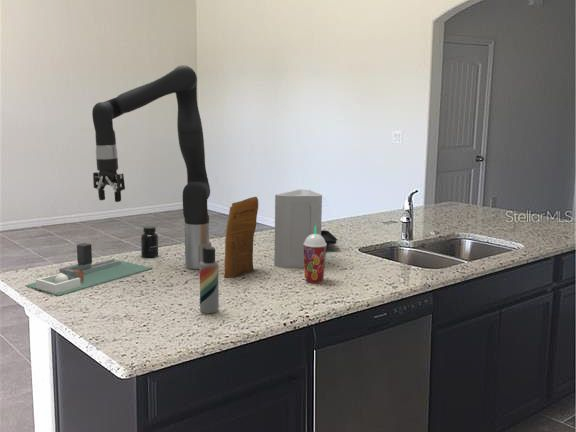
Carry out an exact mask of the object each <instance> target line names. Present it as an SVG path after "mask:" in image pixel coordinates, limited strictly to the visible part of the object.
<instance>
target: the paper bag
mask: <svg viewBox="0 0 576 432" xmlns="http://www.w3.org/2000/svg"><path fill="white" fill-rule="evenodd" d="M322 210H323V195H322V194H320V193H319V192H318V193H317V192H315V191H313V190H311V189H296V190H290V191H286V192H281V193H277V194H274V265H273V266H274V267H277V268H281V269H301V268H302V269H303V268H304V247H303V243H304V241H305V239H306V238H307V237H308V236H309V235H311V234H314V226H316V234H319V235H321V231H322V214H323V213H322V212H323V211H322Z"/></svg>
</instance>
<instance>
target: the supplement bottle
mask: <svg viewBox="0 0 576 432" xmlns="http://www.w3.org/2000/svg"><path fill="white" fill-rule="evenodd" d="M142 228H143V233H142V234H141V235H140V253H141V254H140V255H141V257H142V258H144V259H145V258H146V259H147V258H148V259H153V258H157V257H158V256H159V234H157V233H156V232H157V229H156V228H157V227H155V226H154V225H153V226H150V225H149V226H148V225H147V226H144V227H142Z"/></svg>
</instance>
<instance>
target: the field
mask: <svg viewBox="0 0 576 432" xmlns="http://www.w3.org/2000/svg"><path fill="white" fill-rule="evenodd" d="M120 261H121V265H118V266H114V267H111V268H107V269H103V270H99V271H96V272H92V273H88V274H85V275H84V281H82V282H80V284H81V287H78V288H74V289H71V290H67V291H64V292H60V293H57V294H54V293H51V292H48V291H45V292H44V293H46V292H47V293H46V294H49V293H51V294H50V295H53V294H54V296H56V295H57V297H60V295H61V296H65V295H68V294H71V293H74V292H78V291H82V290H85V289H88V288H91V287H95V286H99V285H102V284H105V283H109V282H112V281H116V280H119V279H122V278H126V277H129V276H130V277H131V276H133V275H137V274H140V273H144V272H146V271H150V270H153V267H150V266H146V265H143V264H137V263H133V262H129V261H124V260H120ZM72 279H74V277H73V278H70V279H69V280H72ZM27 286H28V288H30V287H31V289H33V288H35V289H34V290H36V289H38V288H36V281H35V282H33V283H28V284H25V287H27ZM40 290H41V289H38V290H37V291H40ZM43 291H44V290H41V292H43ZM64 294H65V295H64Z"/></svg>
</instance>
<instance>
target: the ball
mask: <svg viewBox="0 0 576 432" xmlns="http://www.w3.org/2000/svg"><path fill="white" fill-rule="evenodd" d="M68 280H69V279H68V277H67V275H65V274H58V275H57V276H56V277H55V283H56V284H57V283H60V282H64V281H68Z"/></svg>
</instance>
